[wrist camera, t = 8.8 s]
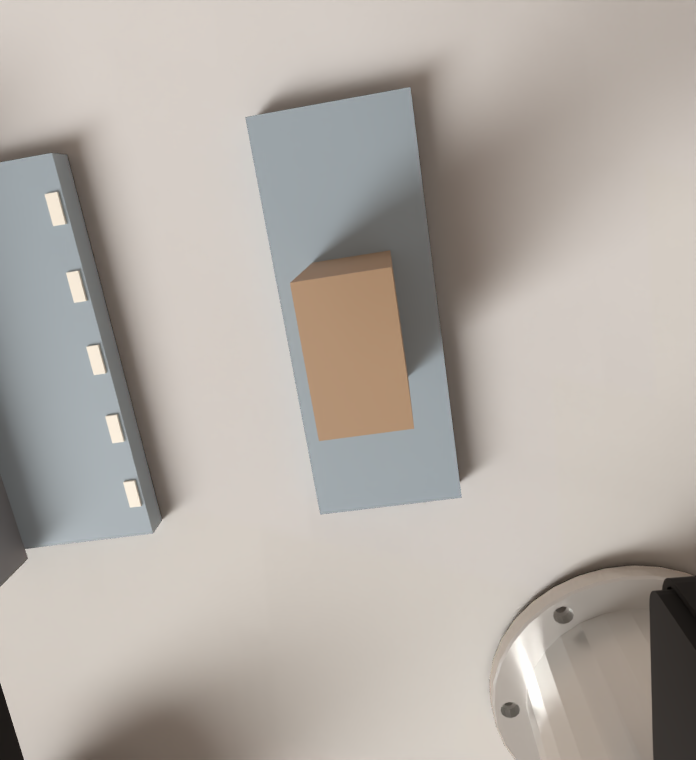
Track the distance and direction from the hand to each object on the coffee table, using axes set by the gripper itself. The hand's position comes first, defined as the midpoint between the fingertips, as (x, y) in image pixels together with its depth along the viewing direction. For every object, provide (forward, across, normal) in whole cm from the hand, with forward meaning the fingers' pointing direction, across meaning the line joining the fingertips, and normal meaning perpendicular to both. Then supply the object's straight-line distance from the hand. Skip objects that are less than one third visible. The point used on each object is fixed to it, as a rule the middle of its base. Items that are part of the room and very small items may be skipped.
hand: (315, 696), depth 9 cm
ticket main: (+19, +15, -2) cm, 24 cm away
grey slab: (+19, 0, -2) cm, 19 cm away
